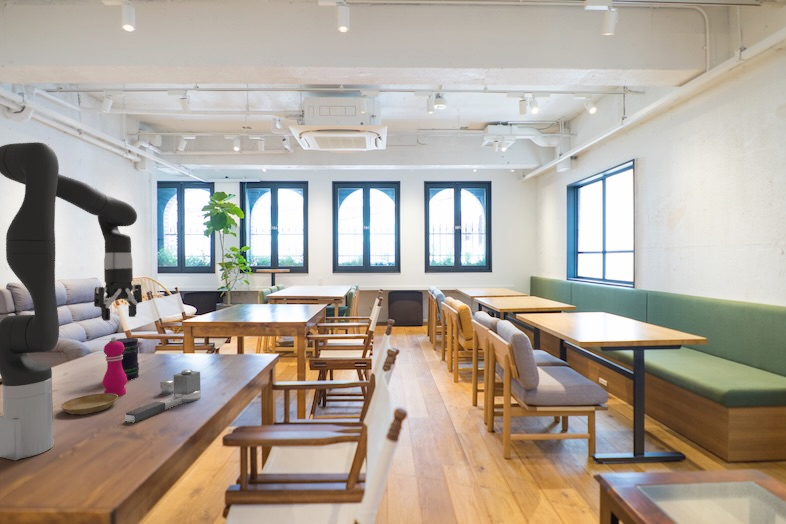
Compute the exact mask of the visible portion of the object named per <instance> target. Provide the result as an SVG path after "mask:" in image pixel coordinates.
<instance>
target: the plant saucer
mask: <svg viewBox="0 0 786 524" xmlns="http://www.w3.org/2000/svg"><path fill="white" fill-rule="evenodd" d="M118 398H119V396H118V395H116V394H112V393H104V392H103V393H94V394H93V393H92V394H87V395H83V396H77V397H75V398H72V399H69V400H67V401H64V402H63V403H61V404H60V408H61V409H62V410H64V412H66V413H68V414H70V415H74V414H80V415H86V414H88V413H89V414H93V412H94V413H98V412H101V411H104V410H106V409H108V408H110V407H112V405H114V403H115V402H116V401H117V399H118Z"/></svg>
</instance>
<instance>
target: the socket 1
mask: <svg viewBox="0 0 786 524" xmlns="http://www.w3.org/2000/svg"><path fill="white" fill-rule="evenodd" d="M159 387H160V388H159V389H160V391H159V392H160V393H159V394H160V395H161V394H163V395H162V396H166V394H169V395H172V394H174V379H165V380H162V381H160V382H159ZM171 393H172V394H171Z"/></svg>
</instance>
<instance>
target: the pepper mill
mask: <svg viewBox="0 0 786 524" xmlns="http://www.w3.org/2000/svg"><path fill="white" fill-rule="evenodd" d="M117 339H118V338H117V337H116V336H112V337H111V338H110V341H112V342H109V341H108V342H107V343H106V344H105V345H104V347H103V353H104V355H106V356H105V361H106V363H107V366H106V367H107V368H106V371H105V374H104V376H103V379H102V384H101V385H102V387H103V388H104V389H105V390H104V392H103V393H112V394H116V395H118V397H121V395H122V396H124V395H126V394H127V391H126V390H127V388H126V387H125V386H126V385H127V383H128V381H127V377H126V374H125V372H124V370H123V368H122V363H121V362H122V359H123V355H122V353H123V351H124V345H123V343H121V342H119V341H117ZM123 394H124V395H123Z"/></svg>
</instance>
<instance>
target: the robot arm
mask: <svg viewBox="0 0 786 524" xmlns="http://www.w3.org/2000/svg"><path fill="white" fill-rule="evenodd" d="M57 156H58V155H57V154H56V152H55V151H54V149H52V147H51V146H50V145H48V144H46V143H43V142H39V141H38V142H35V141H34V142H20V143H7V144H4V145H1V146H0V174H1V175H2V176H4V177H5V178H7V179H9V180H10V181H14V182H17V183H19V184H23V185H24V186H25V187H24V198H23V201H22V203H21V206H20V207H19V209H18V210H17V212H16V214H15V216H14V217H13V218H12V221H11V223H10V224H9V226H8V229H7V231H6V235H5V257H6V258H5V259H6V262H7V264H8V266H9V268H10V270H11V271H12V272H13V274H14V275H15V277H17V278H18V279H17V280H19V281H20V283H22V285H23V286H24V287H25V288H26V290H27V291H28V293H29V295H30V297H31V300H32V304H33V310H34V314H21V315H19V314H18V315H17V314H16V315H10V316H9V315H8V316H6V317H4V318H3V319H1V321H0V378H1V385H2V389H1V390H2V416H0V458H3V459H8V460H11V461H18V460H21V459H25V458H29V457H33V456H36V455H40V454H43V453H45V452H47V451H49V450H51V449H52V448H53V446H54V445H55V444H54V443H55V442H54V438H55V436H54V410H53V409H54V408H53V407H54V406H53V404H54V403H53V370H52V367H51V366H50V365H49V364H46V363H43V362H39V361H36V360H34V359H32V358H31V357H29V356H28V354H34V353H35V354H36V353H48V352H50V351H52V350H54V349H55V347H56V346H57V344H58V342H59V336H60V322H59V313H58V305H57V293H56V234H55V233H56V230H55V229H56V228H55V226H56V225H55V224H56V223H55V222H56V221H55V220H56V219H55V218H56V217H55V216H56V199H57V198H59V199H61V200H63V201H65V202H68V203H70V204H71V205H74V206H76V207H77V208H79V209H80V210H83V211H85V212H86V213H89V214H90V215H93V216H97V221H98V225H99V227H100V230H101V233H102V236H103V239H104V259H103V261H104V262H103V266H104V267H103V268H104V269H103V272H104V273H103V274H104V276H103V277H104V282H105V286H96V287H95V288H94V298H93V300H94V303H93V306H94V307H96V308H100V310H101V311H100V312H101V319H102V320H103V322H104V321H105V322H107V321H110V320H111V311H110V310H111V308H110V307H111V305H112V303H114V302H115V301H118V300H124V301H126V303H128V317H130V318H135V317H136V315H137V305H138V304H139V303H140V304H141V303H142V302H143V292H142V290H143V289H142V284H137V283H135V284H132V282H133V280H134V275H133V271H134V270H133V257H132V256H133V255H132V238H131V236H130V235H128V234H125V233H121V231H120V230H119V227H130V226H133V224H135V223H136V221H137V218H138V214H137V211H136V210H135V208H134V207H133V206H132V205H131V204H130V203H128V202H126V201H123V200H121V199H117V198H115V197H113V196H109V195H107V194H105V193H104V192H102V191H100V190H99V189H98V188H96V187H94V186H92V185H90V184H88V183H87V182H83V181H81V180H78V179H74V178H73V177H69V176H66V175H63V174H61V173H60V172H59V171H60V170H59V169H60V168H59V160H58V157H57ZM105 294H106V295H105Z"/></svg>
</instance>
